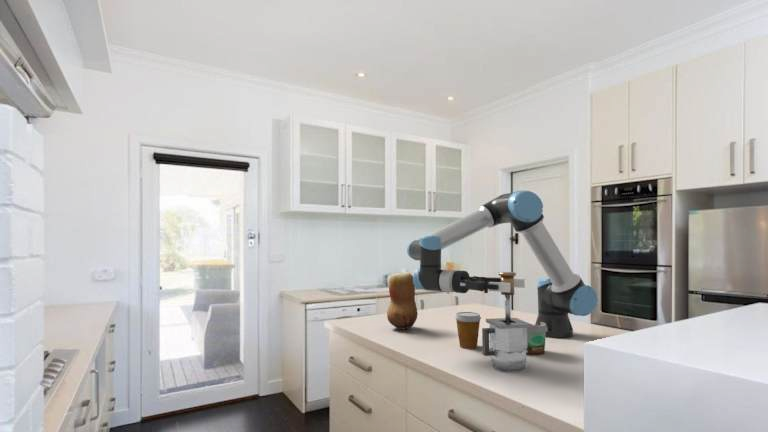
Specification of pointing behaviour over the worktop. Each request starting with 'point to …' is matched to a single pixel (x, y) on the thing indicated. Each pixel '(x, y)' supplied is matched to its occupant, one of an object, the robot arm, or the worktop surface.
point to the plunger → (508, 278)
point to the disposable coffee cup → (468, 329)
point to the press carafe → (506, 344)
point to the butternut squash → (402, 301)
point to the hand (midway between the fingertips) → (517, 285)
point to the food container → (536, 339)
